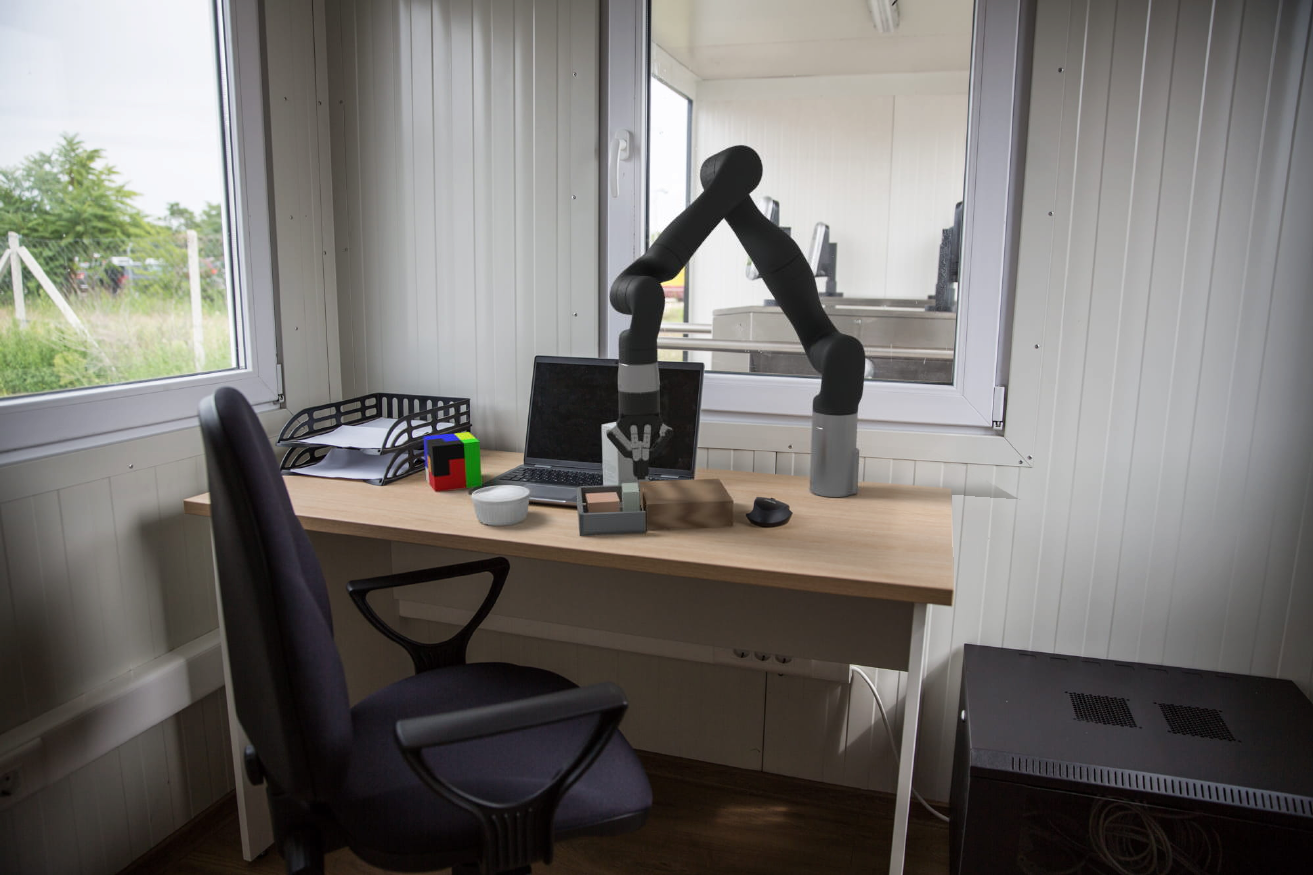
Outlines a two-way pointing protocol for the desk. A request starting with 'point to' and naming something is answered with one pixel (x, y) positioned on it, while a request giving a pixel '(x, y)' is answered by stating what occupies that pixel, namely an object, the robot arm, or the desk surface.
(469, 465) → the puzzle toy
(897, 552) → the desk surface
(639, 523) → the box
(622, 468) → the skincare box
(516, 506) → the ramekin
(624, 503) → the sage tile
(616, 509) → the terracotta tile
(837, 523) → the desk surface
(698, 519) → the wooden riser block
